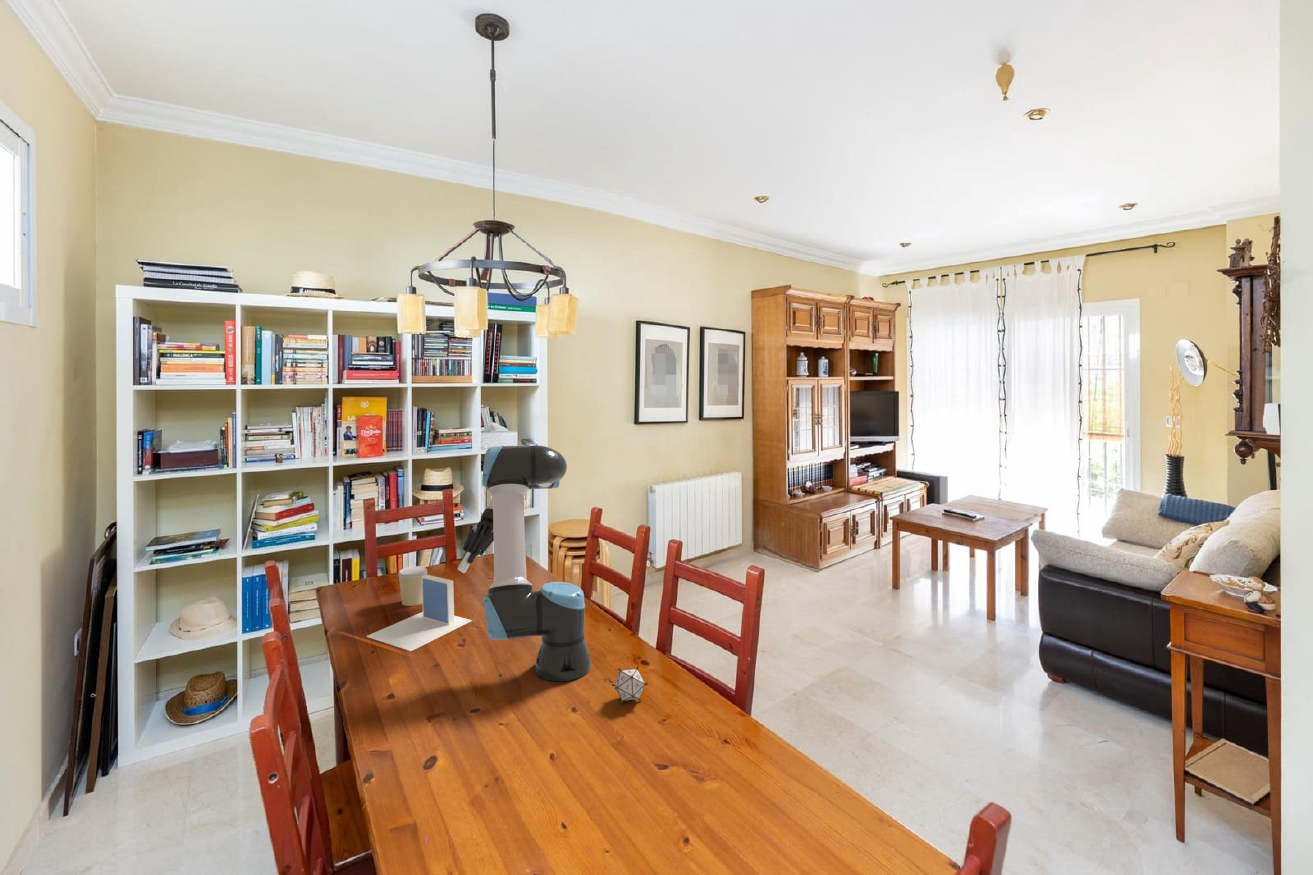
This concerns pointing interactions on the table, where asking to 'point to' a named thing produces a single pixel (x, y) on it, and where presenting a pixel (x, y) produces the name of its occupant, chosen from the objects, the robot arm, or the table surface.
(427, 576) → the tile
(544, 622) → the robot arm
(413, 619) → the mat
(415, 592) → the coffee cup
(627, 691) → the game die
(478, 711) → the table surface
